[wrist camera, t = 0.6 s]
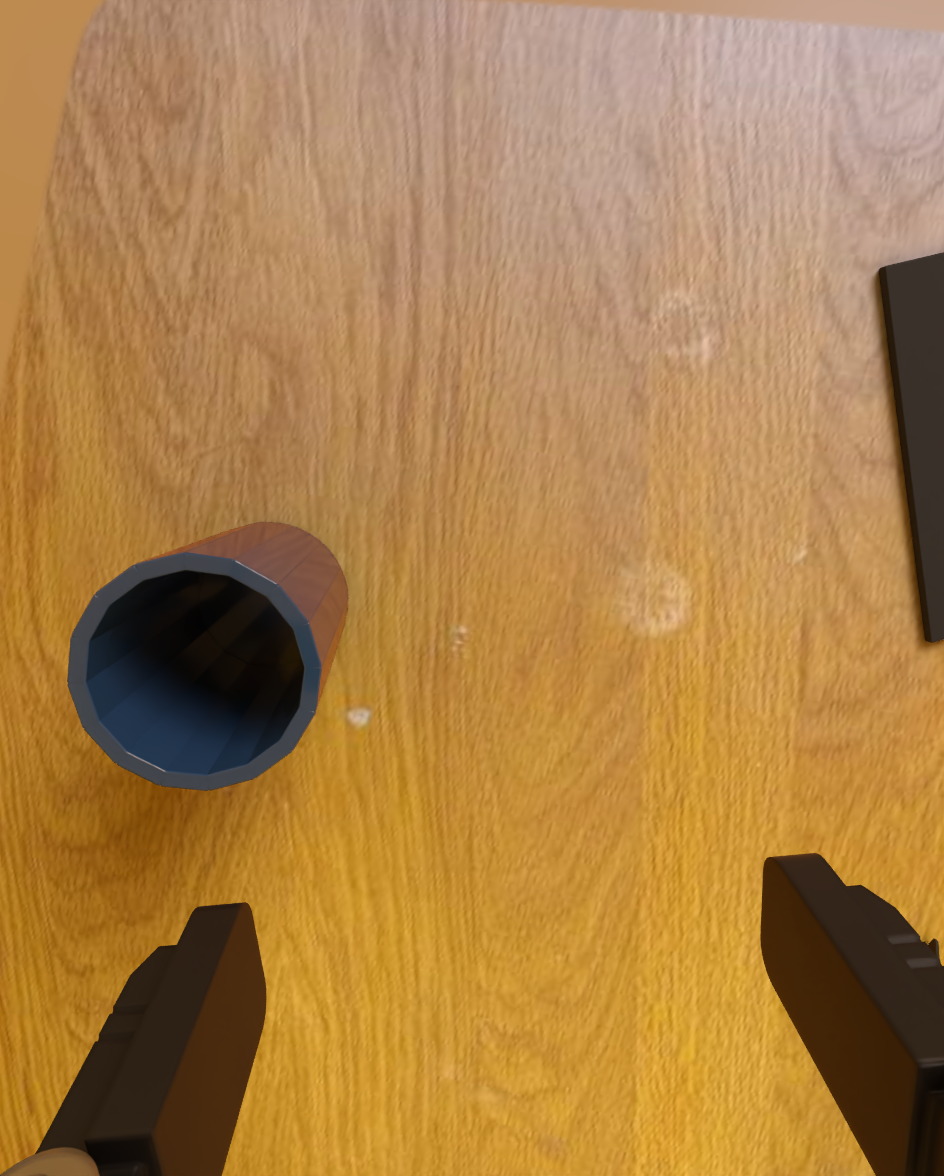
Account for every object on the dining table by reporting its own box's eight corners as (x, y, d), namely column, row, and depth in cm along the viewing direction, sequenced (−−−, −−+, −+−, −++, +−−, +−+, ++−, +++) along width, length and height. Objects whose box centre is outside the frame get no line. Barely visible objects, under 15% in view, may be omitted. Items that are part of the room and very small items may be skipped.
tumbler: (172, 543, 28) (31, 588, 17) (325, 505, 28) (281, 527, 18) (218, 688, 29) (114, 816, 18) (365, 650, 30) (347, 754, 19)
